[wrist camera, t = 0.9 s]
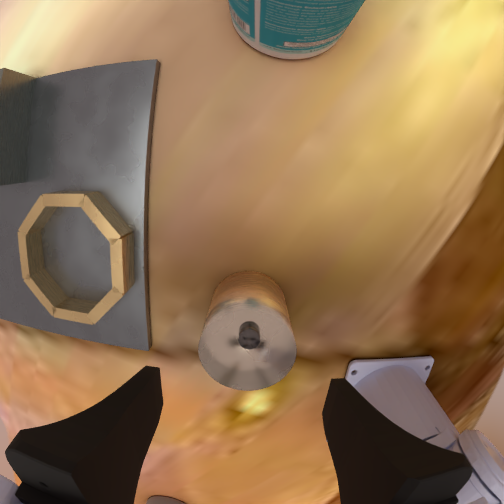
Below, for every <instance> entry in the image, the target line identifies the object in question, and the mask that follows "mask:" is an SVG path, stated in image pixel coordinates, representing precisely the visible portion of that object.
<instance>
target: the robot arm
mask: <svg viewBox="0 0 504 504" xmlns="http://www.w3.org/2000/svg"><path fill="white" fill-rule="evenodd" d="M433 363H434V359H433V358H432V357H431V356H425V357H411V358H395V359H371V360H353V361H351V362H350V363H349V366H348V369H347V373H346V376H345V378H341V379H331V382H330V386H329V390H328V394H327V397H326V401H325V405H324V408H323V412H322V416H323V424H324V430H325V435H326V440H327V442H328V446H329V449H330V452H331V456H332V459H333V463H334V466H335V470H336V474H337V478H338V485H339V492H340V500H341V504H504V457H503V456H502V455H501V453H500V452H499V451H498V450H497V448H496V447H495V446H494V445H493V444H492V443H491V441H490V440H489V439H488V438H487V437H486V436H485V435H484V434H483V433H481V432H480V431H479V430H468V429H466V430H464V431H463V432H462V433H461V434H459V433H458V431H457V430H456V428H455V427H454V425H453V424H452V422H451V421H450V419H449V418H448V416H447V415H446V413H445V412H444V410H443V409H442V408H441V406H440V405H439V403H438V402H437V400H436V399H435V398H434V396H433V395H432V393H431V392H430V391H429V389H428V388H427V386H426V385H425V383H426V380H427V378H428V376H429V373H430V371H431V368H432V365H433ZM426 366H427V367H426ZM353 370H356V371H355V372H353V373H351V372H352V371H353ZM162 407H163V396H162V387H161V377H160V368H158V367H151V366H145V367H144V368H143V369H141V370H140V371H139V372H138V373H137V374H135V375H134V376H133V377H132V378H131V379H130V380H128V381H127V382H126V383H125V384H123V385H122V386H121V387H120V388H118V389H117V390H116V391H115V392H113V393H112V394H110V395H109V396H108V397H106V398H105V399H103V400H102V401H100V402H99V403H97V404H95V405H94V406H92V407H90V408H88V409H86V410H85V411H83V412H80V413H78V414H76V415H73V416H71V417H69V418H66V419H64V420H61V421H58V422H55V423H52V424H48V425H44V426H40V427H35V428H30V429H24V430H20V431H19V433H18V434H17V435H16V437H15V438H14V439H13V441H12V442H11V443H10V445H9V446H8V448H7V449H6V451H5V454H6V458H7V460H8V462H9V464H10V465H11V467H12V468H13V470H14V471H15V473H16V474H17V475H18V477H19V478H20V480H21V481H22V483H21V484H20V486H18V485H16V484H15V483H14V482H12V481H11V480H9V479H7V478H5V477H4V476H2V475H0V504H134V499H135V494H136V489H137V484H138V480H139V476H140V472H141V468H142V465H143V462H144V459H145V456H146V454H147V451H148V449H149V446H150V443H151V441H152V438H153V436H154V433H155V431H156V428H157V426H158V423H159V419H160V415H161V411H162Z"/></svg>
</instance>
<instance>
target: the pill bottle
mask: <svg viewBox="0 0 504 504" xmlns="http://www.w3.org/2000/svg"><path fill="white" fill-rule="evenodd" d="M364 1H365V0H228V2H229V7H230V13H231V18H232V22H233V25H234V27H235V29H236V31H237V32H238V34H239V35H240V36H241V38H242V39H243V40H244V41H245V42H247V43H248V44H249V45H250V46H251V47H253V48H255V49H256V50H258V51H260V52H262V53H265V54H267V55H270V56H273V57H277V58H282V59H305V58H309V57H313V56H316V55H319V54H321V53H323V52H325V51H327V50H328V49H330V48H331V47H332V46H333V45H334V44H335V43H336V42H337V41H338V40H339V38H340V37H341V35H342V34H343V33H344V31H345V30H346V28H347V27H348V25H349V24H350V22H351V21H352V19H353V18H354V16H355V15H356V13H357V12H358V10H359V9H360V7H361V6H362V4H363V3H364Z"/></svg>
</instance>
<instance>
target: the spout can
mask: <svg viewBox="0 0 504 504" xmlns="http://www.w3.org/2000/svg"><path fill="white" fill-rule="evenodd" d="M198 350H199V357H200V361H201V363H202V366H203V367H204V369H205V370H206V372H207V373H208V374H209V375H210V376H211V377H212V378H213V379H214V380H216V381H217V382H219V383H220V384H222V385H224V386H227V387H230V388H233V389H237V390H247V391H251V390H259V389H263V388H266V387H269V386H271V385H274V384H275V383H277V382H279V381H280V380H281V379H283V378H284V377H285V376H286V375H287V374H288V372H289V371H290V370H291V368H292V366H293V364H294V362H295V358H296V343H295V339H294V334H293V330H292V326H291V322H290V318H289V314H288V310H287V306H286V302H285V297H284V294H283V292H282V290H281V288H280V286H279V285H278V284H277V283H276V282H275V281H274V280H273V279H272V278H270V277H269V276H267V275H265V274H262V273H259V272H254V271H242V272H238V273H235V274H232V275H230V276H228V277H227V278H225V279H224V280H223V281H222V282H221V283H220V284H219V285H218V286H217V288H216V290H215V292H214V294H213V298H212V301H211V304H210V308H209V311H208V314H207V318H206V321H205V324H204V328H203V331H202V334H201V338H200V342H199V349H198Z"/></svg>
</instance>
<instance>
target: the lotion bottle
mask: <svg viewBox="0 0 504 504" xmlns="http://www.w3.org/2000/svg"><path fill="white" fill-rule="evenodd" d="M146 504H185V503H183V502H181V501H179V500H176V499H173V498H169V497H164V496H153V497H150V498H149V499H148V500H147V503H146Z"/></svg>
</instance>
